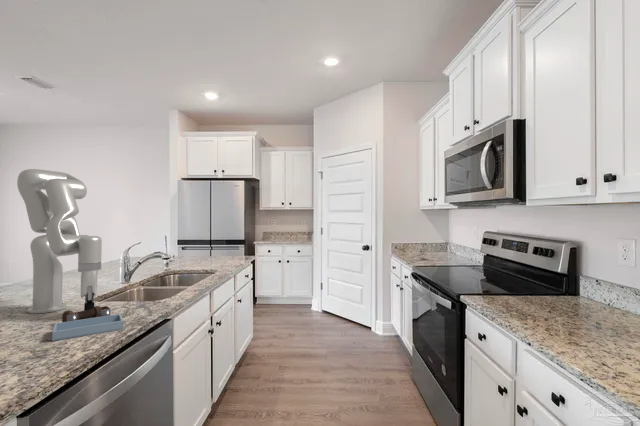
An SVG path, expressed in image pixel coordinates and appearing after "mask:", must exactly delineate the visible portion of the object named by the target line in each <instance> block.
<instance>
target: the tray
mask: <svg viewBox="0 0 640 426" xmlns="http://www.w3.org/2000/svg"><path fill="white" fill-rule="evenodd" d="M120 330H124V319H123V317H122V313H117V314H110V315H109V316H103V317H96V318H87V319H82V320H76V321H69V322H56V323H54V326H53V329H52V339H51V341H52V342H57V341H65V340H70V339H74V338H80V337H86V336H92V335H98V334H99V335H100V334H105V333H109V332H115V331H120ZM69 338H70V339H69Z"/></svg>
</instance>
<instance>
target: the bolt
mask: <svg viewBox="0 0 640 426" xmlns="http://www.w3.org/2000/svg"><path fill="white" fill-rule="evenodd" d="M104 309H111V308H110V307H109V306H108V305H105V306H99V305H94V307H93V308H92V309H89V310H85V311H84V310H81V311H72V310H65V311H63V313H62V316H61V321H62V322H67V315H69V314H77V320H82V319H89V318H96V317H101V310H104ZM62 322H61V323H62Z"/></svg>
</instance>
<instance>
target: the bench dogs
mask: <svg viewBox="0 0 640 426" xmlns="http://www.w3.org/2000/svg"><path fill="white" fill-rule="evenodd" d="M109 315H111V308H110V309H104V310H101V317H103V316H109ZM76 320H77V314H69V315H67V322H69V321H76Z"/></svg>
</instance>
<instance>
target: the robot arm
mask: <svg viewBox="0 0 640 426" xmlns="http://www.w3.org/2000/svg"><path fill="white" fill-rule="evenodd" d="M16 185H17V189H18V193H19V194H20V196H21V198H22V200H23V202H24V205H25V208H26V213H27V217H28V221H29V225H30V229H31V230H32V231H33V232H35V233H37V234H38V233H39V234H42V235H38V236H37V237H34V238H32V240H31V242H30V245H29V247H30V252H31V256H32V268H33V269H32V271H33V272H32V306H31V307H29V308H27V310H26V311H27V313H28V314H46V313H54V312H57V311H62V310H64V309H65V308H67V304H68V303H65V302H63V277H64V276H63V274H64V273H63V272H64V271H63V270H64V269H63V268H64V267H63V264H62V263H61V261H60V260H59V259H58V257H64V256H72V255H76V254H77V255H78V256H77V260H78V261H77V271H78V273H80V298H81V299H82V298H83V297H84V303H83V305H84V306H83V311H85V310H89V309H92V308H93V307H94V306H95V301H94V300H95V297H96V296H97V290H98V289H97V288H98V272H99V271H100V272H101V270H102V242H103V241H102V237H100V236H98V235H89V234H88V235H87V234H80V231H79V226H78V223H77V220H76V217H75V216H77V215H78V214H79V213H80V210H79V206H78V204H77V201H76V200H82V199H84V198H85V197H87V196H86V195H87V193H88V190H87V188H88V187H87V186H86V184H85V183H84V182H83V181H82V180H80V179H79V178H77V177H75V176H73V175H71V174H69V173H66V172H63V171H55V170H46V169H40V168H39V169H38V168H29V169H24V170H22V171H20V173H19V174H18V176H17V182H16ZM42 190H45V193H46V194H45V193H44V192H43V191H42Z"/></svg>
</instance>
